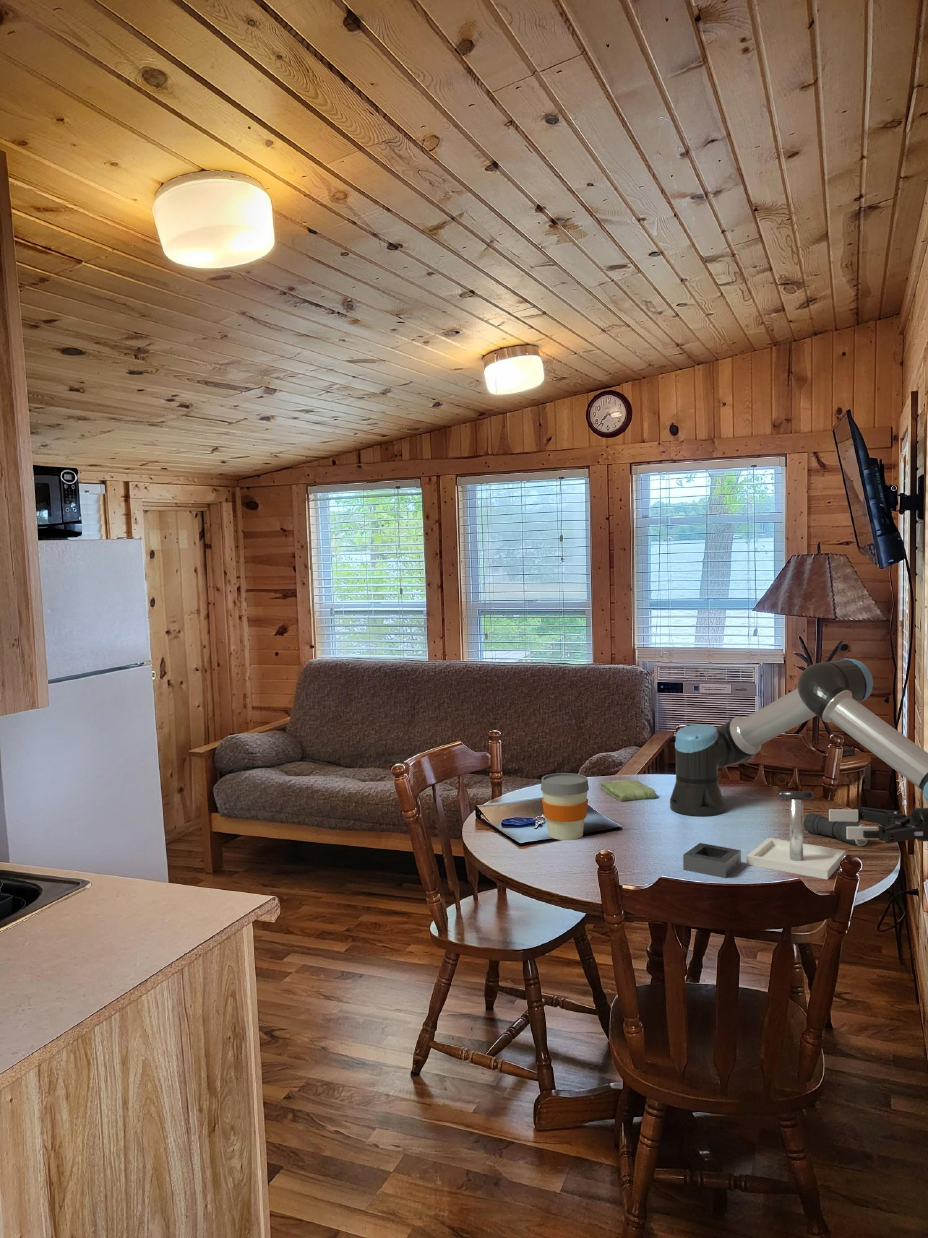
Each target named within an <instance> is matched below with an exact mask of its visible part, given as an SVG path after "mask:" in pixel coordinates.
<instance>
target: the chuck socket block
mask: <svg viewBox="0 0 928 1238" xmlns="http://www.w3.org/2000/svg"><path fill="white" fill-rule="evenodd" d="M682 857H683V858H682V862H683V863H682V865H683V866H682V867H683V868H682V869H683V870H685V871H687V872H688V871H689V872H694V873H698V874H699V873H700V874H705V875H707V876H708V875H709V876H713V877H714V876H715V877H719V878H725V879H726V878H727V877H728V876H730V875H731V874H732V873H733V872H735V871H736V870H737V869H738V868H740V867H741V865H742V850H741V849H738V848H737V849H736V848H731V847H727V846H719V845H714V844H709V843H703V842H699V843H698V844H696V845H695V846H693V847H692V848H691V849H689V850H687V851H686V852H685V853H684V854H682Z"/></svg>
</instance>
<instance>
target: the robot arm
mask: <svg viewBox="0 0 928 1238" xmlns="http://www.w3.org/2000/svg"><path fill="white" fill-rule="evenodd" d="M873 686H874V679H873V675H872V673H871V671H870V670H869V668H868V667H867V665H865V663H863V662H862V661H860V660H857V659H855V658H841V659H838V660H831V661H825V662H818V663H814V664H811V665H809V666H808V667H807V668H805V669H804V670H803V671H802V672H801V674H800V676H799V678H798V681H797V688H795V689H794V690H792V691H790V692H789V693H787V694H784V695H783V696H781V697H779V698H778V699H776V700H775V701H773V702H771V703H768V704H767V705H765V706H764V707H762V708H760V709H758V710H757V711H755V712H753V713H752V714H749V715H748V716H746V717H742V716H735V717H734V718H732V719H730V720H728V721H726V722H725V723H723V724H722V725H719V726H717V727H716V726H714V725H711V724H696V725H694V724H691V725H686V726H684V727H682V728H681V727H680V729H678V730H677V732H676V734H675V742H674V749H675V751H674V752H675V753H674V754H675V784H674V786H673V790H672V793H671V795H670V799H669V808H670V810H671V811H673V812H675V813H677V814H682V815H687V816H694V817H695V816H696V817H709V816H715V815H716V816H717V815H720V814H723V812H725V808H726V807H725V799H724V796H723V795H722V791H721V788H720V786H719V780H718V779H719V769H722V768H727V767H730V766H734V765H741V764H744V763H747V762H748V761H750V760H751V759H753V757H754V756H755V755H756V754H757V753H759V752H760V751H761V748H762V745H764V744H765V743H767V742H769V741H771V740H773V739H775V738H777V737H779V736H780V735H782V734H784V733H786V732H788V731H790V730H791V729H793V728H795V727H797V726H800V725H801V724H803V723H805V722H806V721H809V720H811V719H812V718H814V717H818V718H819V719H820V720H822V721H823V722H825V723H832V724H835V726H836V727H838V728H840V729H841V730H842V731H843V732H845V733H846V734H847V735H848V736H850V737H851V738H852V739H854V740H855V741H856V742H858V743H859V744H860V745H861V746H863V747H864V748H866V749H867V750H868V751H869V752H871V753H872V754H874V755H875V756H877V758H879V759H880V760H882V761H883V762H884V764H885V763H886V764H887V765H888V766H889V767H891V769H893V770H895V771H896V772H897V773H898V774H900V775H901V776H903V777H904V778H905V779H907V781H909V782H910V783H912V784H913V785H914V786H916V787H917V788H918V789H919V790H921V791H922V792H923V793H922V794H923V799H924V800H925V802H926V804H927V805H928V752H927V751H926V750H925V749H923V748H922V747H920V746H919V745H917V744H916V743H915V742H913V741H912V740H911V739H909V738H908V737H907V736H905V735H904V734H903V733H902V732H900V731H899V730H897V729H896V728H895V727H893V726H891V725H890V724H889V723H887V722H886V721H884V720H883V719H882V718H881V717H879V716H878V715H876V713H874V712H872V711H871V710H870V709H868V708H867V707H865V706H864V705H863V704H861V703H862V702H864V701H865V700H867V699H868V698H869V697H870V695H871V694H872V691H873ZM828 818H829V821H847V822H855V823H861V822H867V823H872V824H877V825H878V826H867V827H846V838H847V839H866V840H868V841H869V840H873V841H874V840H875V841H876V840H879V841H881V842H884V843H885V844H895V843H899V842H906V841H912V840H917V841H918V842H928V807H915V808H914V809H913V810H912V813H911V814H910V815H906V814H905V813H903V811H902V810H891V809H882V808H874V807H873V808H872V807H865V806H859V805H858V806H857V807H856V809H845V808H844V809H839V808H838V809H832V808H830V809H829V808H828Z"/></svg>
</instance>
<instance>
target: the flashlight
mask: <svg viewBox="0 0 928 1238" xmlns="http://www.w3.org/2000/svg"><path fill="white" fill-rule="evenodd" d="M846 827H868V825H866V824H864V823H861V822H859V823H857V822H853V821H829V817H826V816H823V815H821V814H820V813H814V812H812V813H810V812H809V813H807V814H805V817H804V818H803V829H804V830H805V831H807V832H808V834H809V833H810V834H813V835H822V836H828V837H833V838H836V839H837V840H838V841H842V842H846V843H848V844H849V845H854V846H857V847H864V846H866V845H867V843H868V842H869V840H866V839H847V838H846Z"/></svg>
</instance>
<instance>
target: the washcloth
mask: <svg viewBox="0 0 928 1238" xmlns="http://www.w3.org/2000/svg"><path fill="white" fill-rule="evenodd" d="M599 790H601V791H602V792H604V793H606V794H607V795H609V796H611V797H612V798H613V799H615V800H617V801H619V802H627V801H635V800H637V801H638V800H643V801H644V800H653V799H656V797H657V793H656V790H655V789H654V788H653V787H649V786H648V785H647V784H644V783H642V782H641V781H639V780H635V779H631V780H630V779H626V780H625V779H623V780H621V779H620V780H619V779H618V780H617V779H616V780H612V781H606V780H603V781H601V782H600V787H599Z"/></svg>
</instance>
